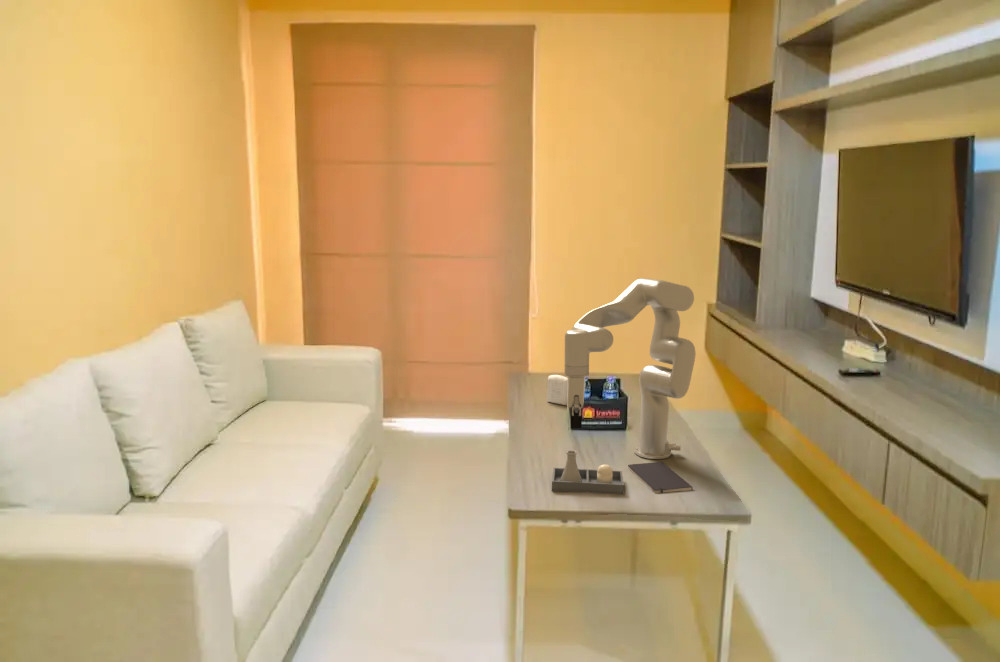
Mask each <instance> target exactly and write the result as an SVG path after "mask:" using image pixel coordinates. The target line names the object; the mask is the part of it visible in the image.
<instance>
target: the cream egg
mask: <svg viewBox="0 0 1000 662" xmlns="http://www.w3.org/2000/svg"><path fill="white" fill-rule="evenodd" d="M596 470H597V483H609V484H612V477H613V471H614V470H613V467H611V465H608V464H607V463H605V464H600V465H599V466H598V468H597V469H596Z"/></svg>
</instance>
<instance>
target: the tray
mask: <svg viewBox="0 0 1000 662" xmlns="http://www.w3.org/2000/svg"><path fill="white" fill-rule="evenodd" d="M564 469H565V467H553V468H552V477H551V491H555V492H572V493H573V492H574V493H591V494H592V493H593V494H594V493H595V494H610V495H611V494H613V495H624V492H625V491H624V489H625V483H624V476H623V471H622V470H612V471H613V477H612V484H609V483H597V470H598V469H589V468H588V469H587V468H586V469H585V468H578V470H579V473H580V476H581V479H582V482H571V481H560V479H561V476H562V474H563V471H564Z"/></svg>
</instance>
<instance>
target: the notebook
mask: <svg viewBox="0 0 1000 662" xmlns="http://www.w3.org/2000/svg"><path fill="white" fill-rule="evenodd" d="M627 466H628V467H627V468H628V470H629V471H631V472H632V474H633V475H635V477H637V479H638V480H640V481H641V482H642V483H643V484H644V485H645V486H646V487H647V488H648V489H649V490H651V491H652V492H653V493H655V494H659V493H661V494H662V493H669V492H681V491H693V485H691V484H690V483H689V482H687V481H686V480H685V479H684V478H683V477H681V476H680V475H679V474H678V473H676V471H674V470H673V469H672V468H670V467H669V466H668V464H666V463H664V462H663V461H655V462H645V463H642V462H641V463H633V464H627Z"/></svg>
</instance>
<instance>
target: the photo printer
mask: <svg viewBox="0 0 1000 662" xmlns="http://www.w3.org/2000/svg"><path fill="white" fill-rule="evenodd" d="M546 382H547V383H546V384H547V386H546V387H547V390H546V391H547V392H546V401H547V402H548V403H553V404H559V405H563V406H567V382H568V376H565V375H561V374H560V375H559V374H550V375H548V377H547V381H546Z"/></svg>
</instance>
